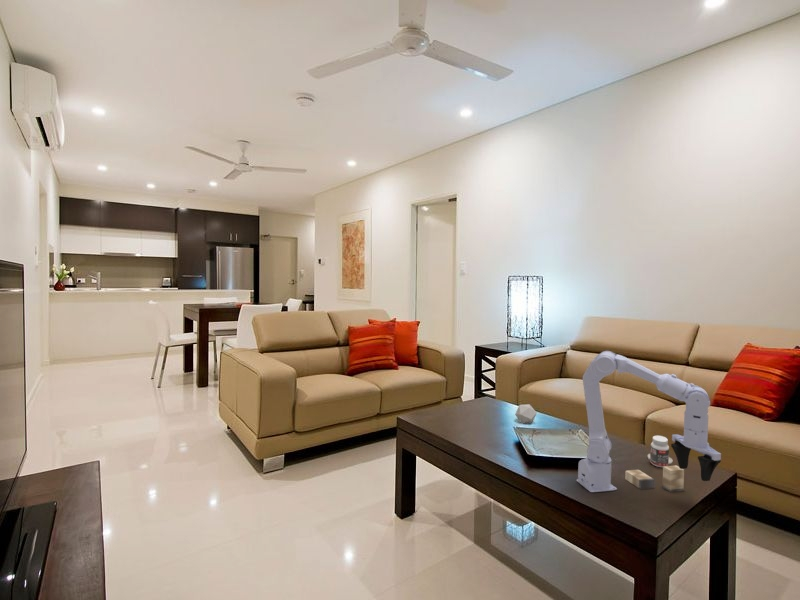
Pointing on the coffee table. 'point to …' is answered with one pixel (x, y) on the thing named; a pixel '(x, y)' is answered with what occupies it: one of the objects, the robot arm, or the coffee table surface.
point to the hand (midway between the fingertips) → (694, 474)
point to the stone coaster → (668, 462)
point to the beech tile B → (673, 478)
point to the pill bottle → (659, 451)
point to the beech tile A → (639, 479)
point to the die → (525, 413)
